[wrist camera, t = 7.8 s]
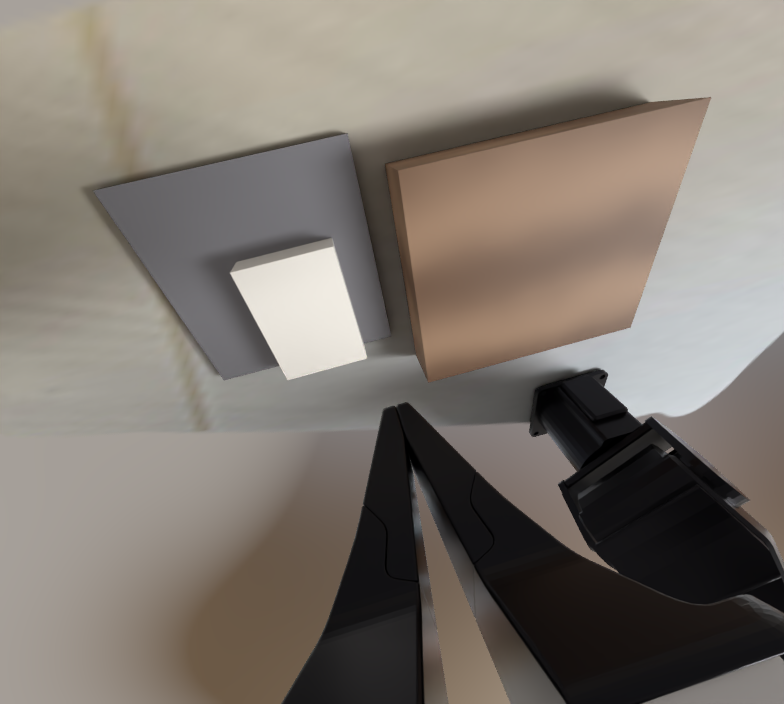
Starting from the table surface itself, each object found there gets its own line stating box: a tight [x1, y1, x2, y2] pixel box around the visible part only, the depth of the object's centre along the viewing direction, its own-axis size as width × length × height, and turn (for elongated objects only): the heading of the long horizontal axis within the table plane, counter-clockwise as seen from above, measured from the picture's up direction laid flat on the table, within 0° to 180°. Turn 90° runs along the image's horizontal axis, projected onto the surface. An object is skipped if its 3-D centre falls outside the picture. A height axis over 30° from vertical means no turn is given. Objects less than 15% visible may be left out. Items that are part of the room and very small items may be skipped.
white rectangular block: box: [230, 238, 367, 380], centre depth 17 cm, size 7×5×2 cm
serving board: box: [385, 97, 711, 383], centre depth 18 cm, size 12×14×3 cm
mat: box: [93, 133, 391, 380], centre depth 17 cm, size 11×11×1 cm
